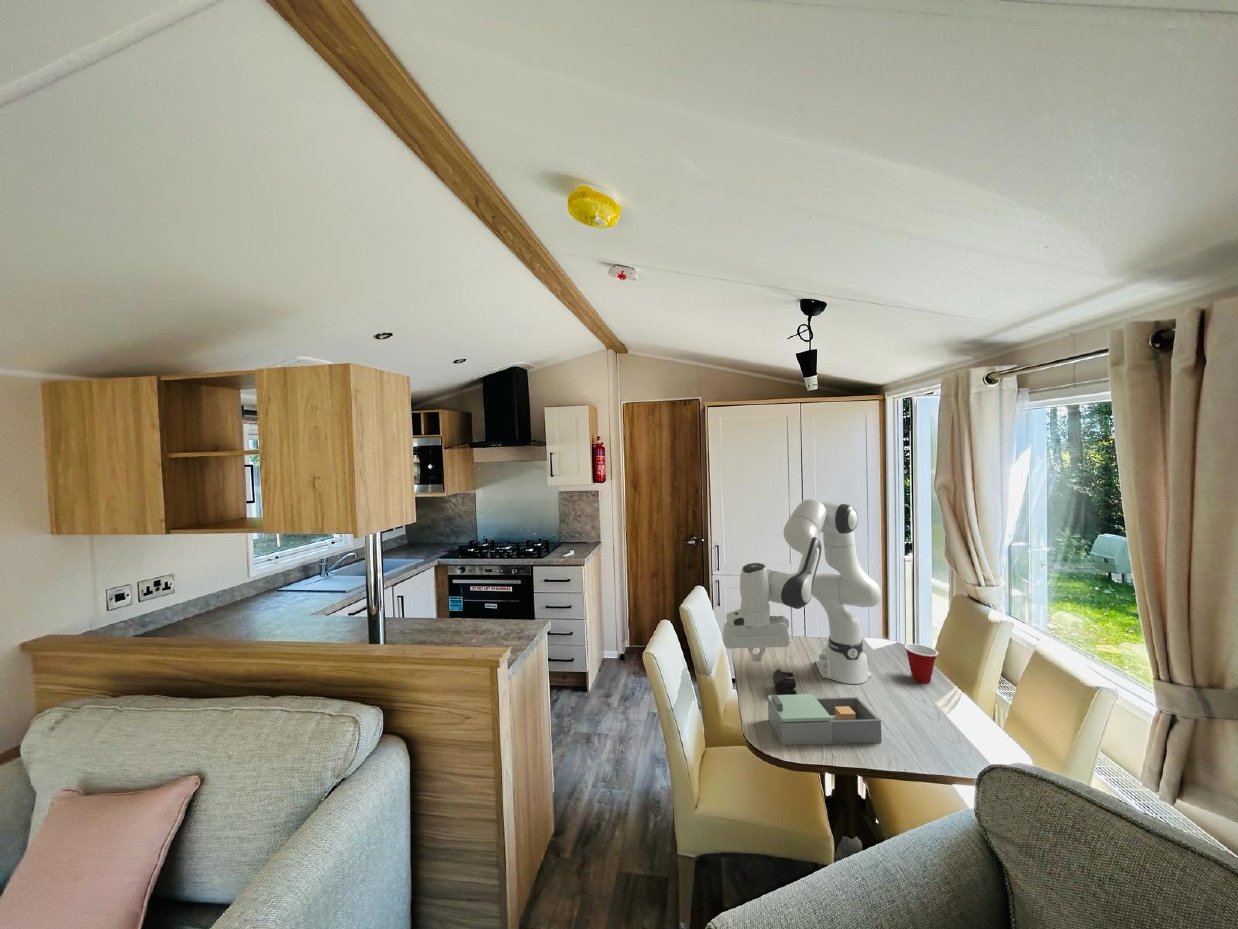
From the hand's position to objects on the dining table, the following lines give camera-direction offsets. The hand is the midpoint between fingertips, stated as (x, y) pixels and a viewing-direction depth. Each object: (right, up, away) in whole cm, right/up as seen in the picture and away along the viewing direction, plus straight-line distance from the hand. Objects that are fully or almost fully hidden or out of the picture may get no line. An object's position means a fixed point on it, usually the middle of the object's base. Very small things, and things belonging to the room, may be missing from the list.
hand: (756, 661), depth 154 cm
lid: (+13, -15, 0) cm, 20 cm away
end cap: (+17, -22, +25) cm, 37 cm away
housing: (+20, -22, 0) cm, 30 cm away
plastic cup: (+71, -20, +31) cm, 80 cm away
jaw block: (+28, -21, 0) cm, 35 cm away
